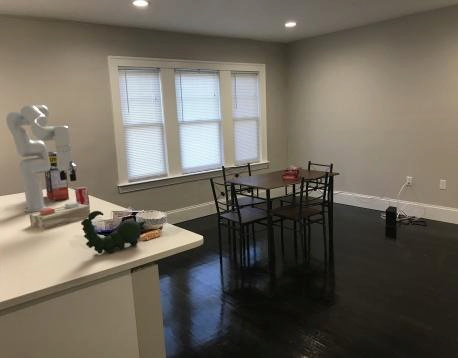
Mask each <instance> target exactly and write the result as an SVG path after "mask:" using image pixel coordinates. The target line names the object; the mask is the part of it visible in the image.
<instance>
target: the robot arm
mask: <svg viewBox="0 0 458 358" xmlns="http://www.w3.org/2000/svg"><path fill="white" fill-rule="evenodd" d="M49 115H50V111H49V109H48V107H47V106H46V105H43V104H27V105H23V106H22V107H21V109H20V110H17V111H10V112H9V113H7V115H6V118H5V119H6V120H5V122H6V125H7V128H8V130H9V131H10V133H11V135H12V138H13V141H14V145H15V148H16V152H17V153H18V155H19V157H21V158H26V159H22V160H21V161H20V162H19V163H18V168H19V171H20V174H21V178H22V182H23V188H24V194H25V195H24V196H25V200H26V201H25V203H26V204H25V206H26V208H25V209H24V212H25V213H37V212H40V210H43V209H47V208H49V207H48V205H46V204H45V200H44V199H45V198H44V193H43V192H44V191H43V188H42V187H43V185H42V180H41V179H40V177H39V176H38V175H37V174H42V173H45V172H47V171H49V170H50V168H51V164H50V160H49V156H48V153H49V152H48V149H47V147H46V144H45V143H44V142H48V141H54V142H55V143H54V145H55V149H56V151H55V152H57V154H56V158H57V168H58V171H59V173H60V180H61V181H62V180H66V173H67V171H68V172H69V180H70V182H76V181H77V176H76V174H77V167H78V166H77V164H75V160H74V155H73V151H72V150H73V149H72V144H71V135H70V129H69V127H68V126H67V125H54V126H51V125H50V126H46V125H47V124H48V118H49ZM22 126H30V130H31V134H32V135H33V136H34V137H35V138H36V139H34V140H32V139H31V138H30V133H29V132H28V131H27V130H26V129H25V128H24V127H22ZM28 157H33V158H28ZM65 171H66V173H64V172H65Z"/></svg>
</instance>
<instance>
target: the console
mask: <svg viewBox="0 0 458 358" xmlns="http://www.w3.org/2000/svg"><path fill="white" fill-rule="evenodd" d="M52 209H54V211H55V213H52V214H48V215H41V214H40V211H37V212H33V213H30V214H29V215H28V216H29V221H30V226H32V227H35V228H38V229H42V230H47V229H51V228H54V227H55V228H56V227H58V226H62V225H64V224H68V223H71V222H75V221H79V220H81V219H86V218H88V216H89V214H90V213H91V208H90V207H89V205H83V204H79V207H75V208H71V209H69V208H65V205H62V206H57V207H55V208H54V207H53V208H52Z"/></svg>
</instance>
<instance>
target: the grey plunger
mask: <svg viewBox="0 0 458 358" xmlns="http://www.w3.org/2000/svg"><path fill="white" fill-rule="evenodd" d="M64 206H65V208H69V209H71V208H75V207H79V204H78V203H77V201H71V202H66V203H64Z"/></svg>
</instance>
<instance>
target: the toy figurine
mask: <svg viewBox="0 0 458 358" xmlns="http://www.w3.org/2000/svg"><path fill="white" fill-rule="evenodd" d="M99 215H100V216H104V215H105V214H104V213H103V212H102V211H99V210H93V211H90V214H89V216H88V217H87V218H83V221H81V225H82V226H83V227H82V231H83V232H84V233H85V234H84V235H83V238H85V239H86V240H87V242H86V243H85V245H86V246H87V247H88V248H90V249H92V248H94V251H95V252H97V253H98V254H99V255H101V254H103V251H105V252H108V253H109V254H113V253H114V252H115V249H116V248H118V249H119V250H124V249H125V247H126V245H125V244H130V246H137V245H138V244H139V241H138V239H140V237H141V228H142V227H143V226H144V225H145V223H146V220H143V221H138V222H137V221H135V220H132V219H127V220H123V221H122V222H121V223H119V225H118V226H117V228H116V230H113V232H111V233H109V235H106V236H103V237H101V236H100V235H99V234H98V232H97V231H96V230H95V226H94V225H93V220H94V219H95V218H96V217H97V216H99Z"/></svg>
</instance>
